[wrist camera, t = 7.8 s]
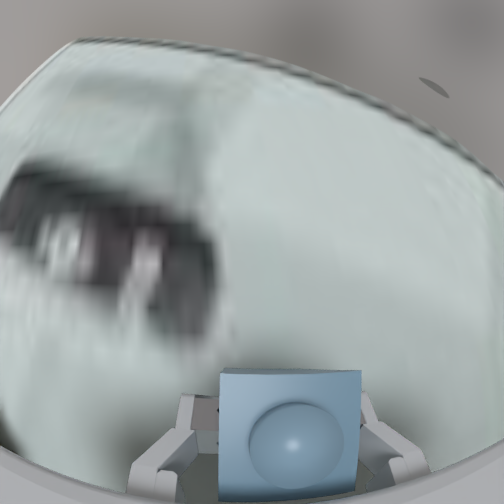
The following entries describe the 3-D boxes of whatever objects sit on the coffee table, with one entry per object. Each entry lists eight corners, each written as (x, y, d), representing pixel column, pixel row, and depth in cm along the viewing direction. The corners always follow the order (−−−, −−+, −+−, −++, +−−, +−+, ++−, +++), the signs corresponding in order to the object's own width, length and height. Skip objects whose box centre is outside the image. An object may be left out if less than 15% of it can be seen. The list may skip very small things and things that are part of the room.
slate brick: (297, 437, 14) (364, 499, 5) (223, 438, 13) (217, 513, 5) (299, 368, 15) (373, 370, 7) (224, 368, 15) (219, 374, 7)
